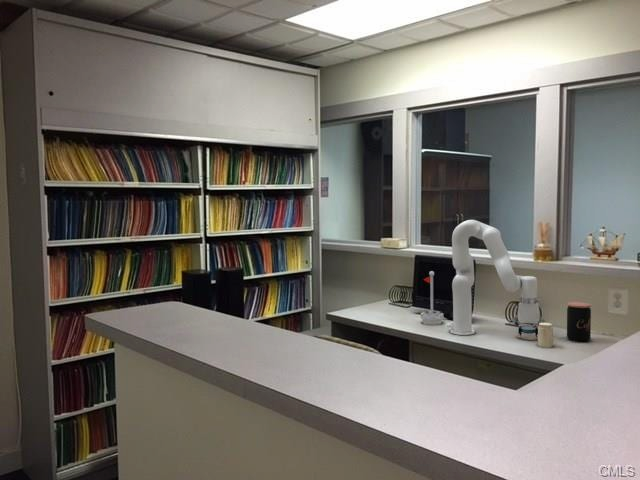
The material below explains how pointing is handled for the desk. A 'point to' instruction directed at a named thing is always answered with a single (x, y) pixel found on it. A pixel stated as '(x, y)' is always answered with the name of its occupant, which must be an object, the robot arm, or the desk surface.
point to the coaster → (527, 337)
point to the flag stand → (431, 317)
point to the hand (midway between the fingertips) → (528, 335)
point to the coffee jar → (579, 321)
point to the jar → (545, 335)
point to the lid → (528, 330)
